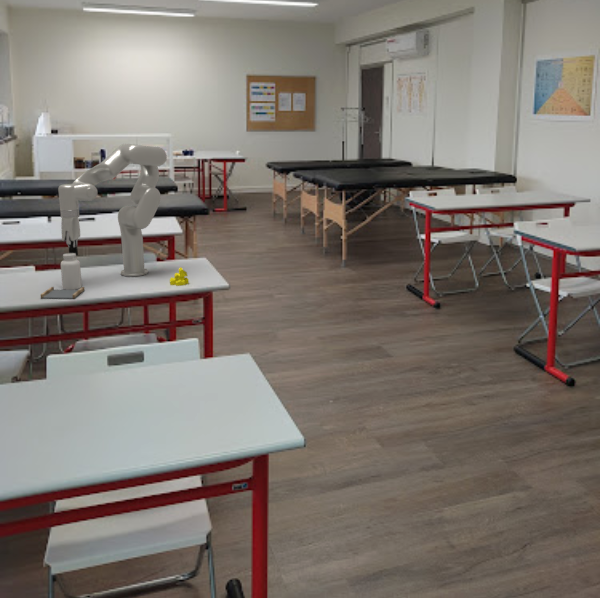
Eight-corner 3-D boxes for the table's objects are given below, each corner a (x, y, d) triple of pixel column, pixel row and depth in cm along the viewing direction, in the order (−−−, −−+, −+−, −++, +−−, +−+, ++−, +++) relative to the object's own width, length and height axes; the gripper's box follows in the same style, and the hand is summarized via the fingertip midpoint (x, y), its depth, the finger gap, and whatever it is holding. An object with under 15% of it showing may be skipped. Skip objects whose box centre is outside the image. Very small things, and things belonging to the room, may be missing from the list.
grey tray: (52, 290, 290) (52, 289, 290) (84, 291, 290) (84, 289, 290) (40, 298, 279) (40, 297, 279) (74, 299, 278) (74, 297, 278)
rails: (52, 290, 290) (51, 286, 290) (84, 291, 290) (84, 287, 289) (40, 298, 279) (40, 294, 278) (74, 299, 278) (74, 294, 278)
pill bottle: (76, 290, 290) (73, 256, 286) (59, 289, 292) (55, 255, 288) (85, 286, 298) (82, 252, 294) (68, 285, 299) (65, 251, 295)
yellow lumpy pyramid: (169, 283, 302) (168, 266, 300) (186, 281, 305) (186, 264, 303) (171, 286, 297) (170, 269, 295) (189, 284, 300) (188, 267, 298)
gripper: (67, 211, 299) (71, 252, 304) (54, 216, 284) (58, 259, 289) (84, 211, 298) (88, 252, 303) (72, 216, 284) (76, 259, 289)
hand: (73, 255), depth 296 cm, fingers closed
